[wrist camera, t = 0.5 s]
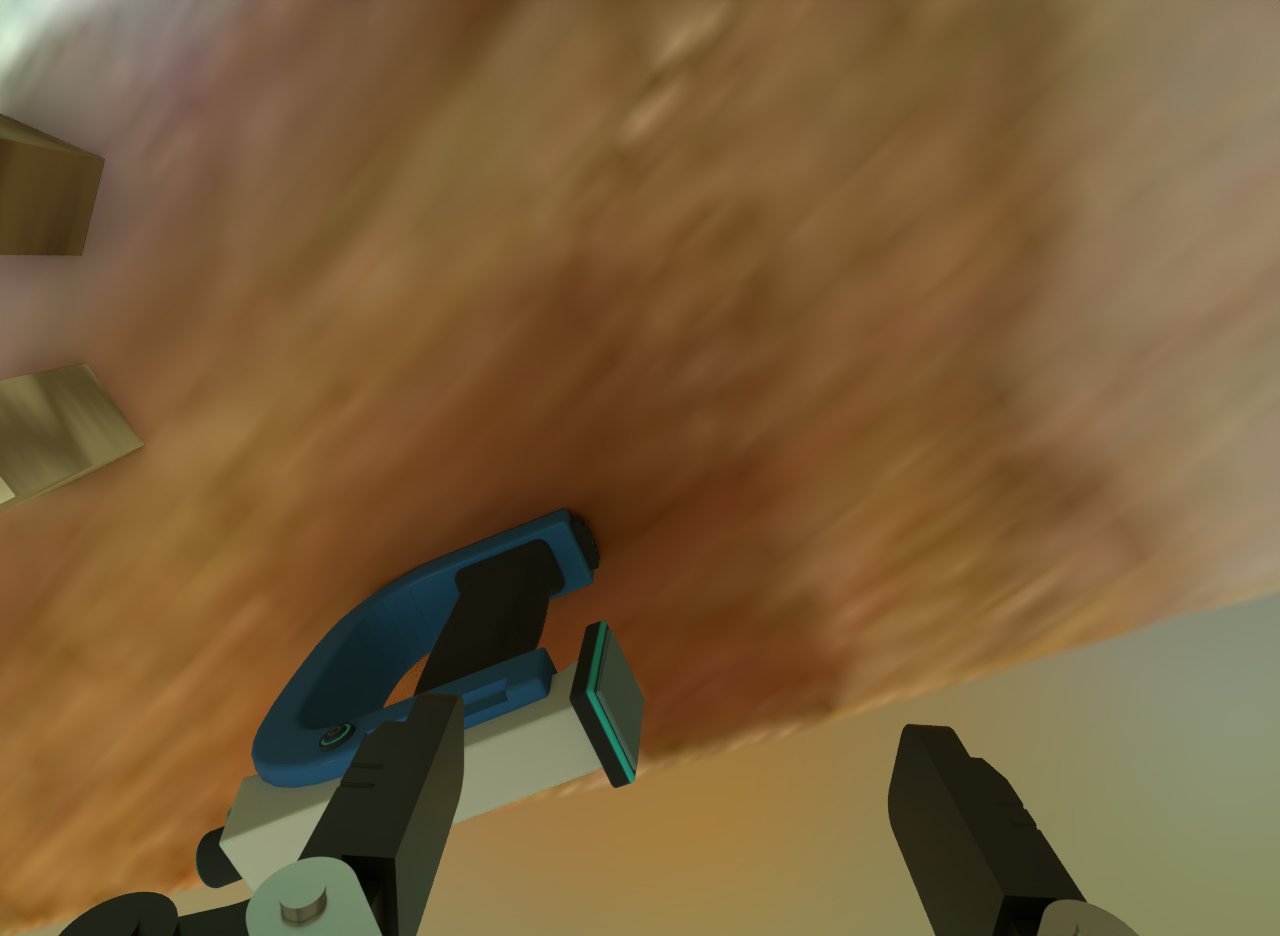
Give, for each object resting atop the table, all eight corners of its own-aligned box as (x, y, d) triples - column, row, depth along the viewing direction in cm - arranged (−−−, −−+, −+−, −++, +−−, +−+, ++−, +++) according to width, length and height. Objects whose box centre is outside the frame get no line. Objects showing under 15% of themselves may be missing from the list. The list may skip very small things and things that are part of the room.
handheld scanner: (637, 557, 43) (655, 782, 24) (391, 653, 44) (220, 941, 25) (608, 488, 42) (601, 667, 23) (355, 589, 43) (147, 839, 24)
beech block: (8, 404, 39) (-163, 445, 30) (86, 363, 39) (-65, 393, 30) (68, 483, 40) (-80, 545, 32) (144, 445, 40) (15, 496, 31)
